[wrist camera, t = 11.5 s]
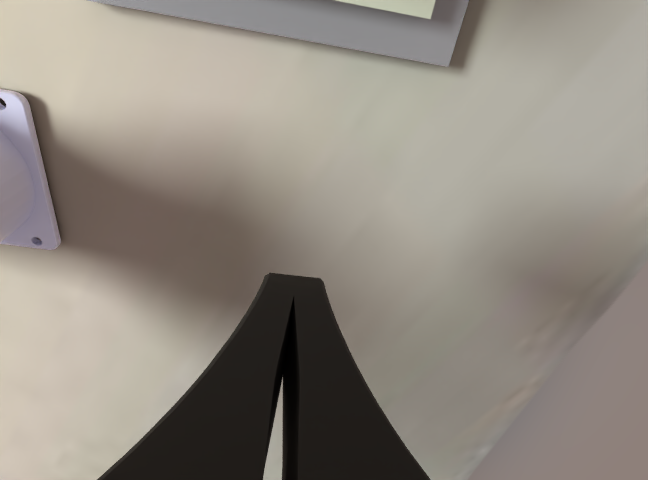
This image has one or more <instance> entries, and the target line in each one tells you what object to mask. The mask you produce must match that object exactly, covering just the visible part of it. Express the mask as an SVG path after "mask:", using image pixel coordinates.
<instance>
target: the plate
mask: <svg viewBox="0 0 648 480" xmlns="http://www.w3.org/2000/svg"><path fill="white" fill-rule="evenodd" d="M88 1H94V2H99V3H104V4H110V5H115V6H121V7H126V8H132V9H137V10H142V11H148V12H153V13H159V14H164V15H170V16H175V17H180V18H186V19H191V20H197V21H202V22H207V23H213V24H218V25H224V26H229V27H235V28H240V29H245V30H251V31H256V32H262V33H267V34H273V35H278V36H283V37H289V38H294V39H300V40H305V41H310V42H316V43H321V44H327V45H332V46H338V47H343V48H348V49H354V50H359V51H365V52H370V53H376V54H381V55H386V56H392V57H397V58H403V59H408V60H413V61H419V62H424V63H430V64H435V65H441V66H446V67H448V66H449V63H450V60H451V57H452V53H453V50H454V47H455V44H456V41H457V38H458V34H459V31H460V28H461V25H462V22H463V18H464V15H465V12H466V9H467V6H468V2H469V0H88Z"/></svg>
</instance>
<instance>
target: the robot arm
mask: <svg viewBox="0 0 648 480" xmlns="http://www.w3.org/2000/svg"><path fill="white" fill-rule="evenodd" d="M0 98H2V99H3V100H4V101H5V103H6V107H5V106H3V105H2V104H1V103H0V244H7V245H15V246H23V247H31V248H39V249H46V250H54V249H56V248H57V247H58V246H59V245H60V244H61V238H60V234H59V230H58V225H57V221H56V217H55V213H54V208H53V204H52V200H51V195H50V191H49V187H48V182H47V178H46V174H45V169H44V165H43V161H42V156H41V152H40V148H39V143H38V139H37V135H36V130H35V126H34V122H33V117H32V113H31V109H30V105H29V102H28V100H27V99H26V98H25V97H24V96H23V95H22V94H20V93H18V92H15V91H10V90H3V89H0ZM37 237H38V238H39V239H41V241H40V240H38V239H37ZM282 377H283V468H282V480H430V478H429V477H428V476H427V474H426V473H425V472H424V470H423V469H422V468H421V466H420V465H419V464H418V462H417V461H416V460H415V458H414V457H413V456H412V454H411V453H410V452H409V450H408V449H407V447H406V446H405V444H404V443H403V441H402V440H401V439H400V437H399V436H398V434H397V433H396V431H395V430H394V428H393V427H392V425H391V424H390V422H389V420H388V419H387V417H386V416H385V414H384V412H383V411H382V409H381V408H380V406H379V405H378V403H377V401H376V399H375V398H374V396H373V394H372V393H371V391H370V389H369V387H368V386H367V384H366V382H365V380H364V378H363V376H362V374H361V373H360V371H359V369H358V367H357V365H356V363H355V361H354V359H353V357H352V355H351V353H350V351H349V349H348V347H347V344H346V342H345V340H344V338H343V335H342V333H341V331H340V329H339V326H338V324H337V322H336V319H335V316H334V314H333V311H332V308H331V306H330V303H329V300H328V297H327V293H326V290H325V285H324V282H323V281H322V280H321V279H320V278H311V277H302V276H293V275H284V274H275V273H269V274H267V275H266V276H265V277H264V280H263V283H262V285H261V287H260V289H259V291H258V293H257V295H256V297H255V299H254V301H253V302H252V304H251V306H250V307H249V309H248V311H247V312H246V314H245V315H244V317H243V318H242V320H241V322H240V323H239V325H238V326H237V328H236V329H235V331H234V332H233V334H232V335H231V336H230V338H229V339H228V341H227V342H226V343H225V345H224V346H223V347H222V348H221V350H220V351H219V352H218V354H217V355H216V356H215V358H214V359H213V360H212V362H211V363H210V364H209V366H208V367H207V368H206V369H205V370H204V372H203V373H202V374H201V375H200V376H199V378H198V379H197V380H196V381H195V382H194V384H193V385H192V386H191V387H190V388H189V389H188V390H187V392H186V393H185V394H184V395H183V396H182V397H181V398H180V399H179V400H178V402H177V403H176V404H175V405H174V406H173V407H172V408H171V409H170V410H169V411H168V412H167V413H166V414H165V415H164V416H163V417H162V418H161V419H160V420H159V421H158V422H157V423H156V425H155V426H154V427H153V428H152V429H151V430H150V431H149V432H148V433H147V434H146V435H145V436H144V437H143V438H142V439H141V440H140V441H139V442H138V443H137V444H136V445H135V446H133V447H132V448H131V449H130V450H129V451H128V452H127V453H126V454H125V455H124V456H123V457H122V458H121V459H120V460H118V461H117V462H116V463H115V464H114V465H113V466H112V467H111V468H110V469H108V470H107V471H106V472H105V473H104V474H103V475H102V476H101V477H100V478H98V479H97V480H263V474H264V468H265V463H266V458H267V453H268V448H269V442H270V437H271V432H272V427H273V422H274V417H275V412H276V407H277V402H278V397H279V392H280V387H281V382H282Z"/></svg>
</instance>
